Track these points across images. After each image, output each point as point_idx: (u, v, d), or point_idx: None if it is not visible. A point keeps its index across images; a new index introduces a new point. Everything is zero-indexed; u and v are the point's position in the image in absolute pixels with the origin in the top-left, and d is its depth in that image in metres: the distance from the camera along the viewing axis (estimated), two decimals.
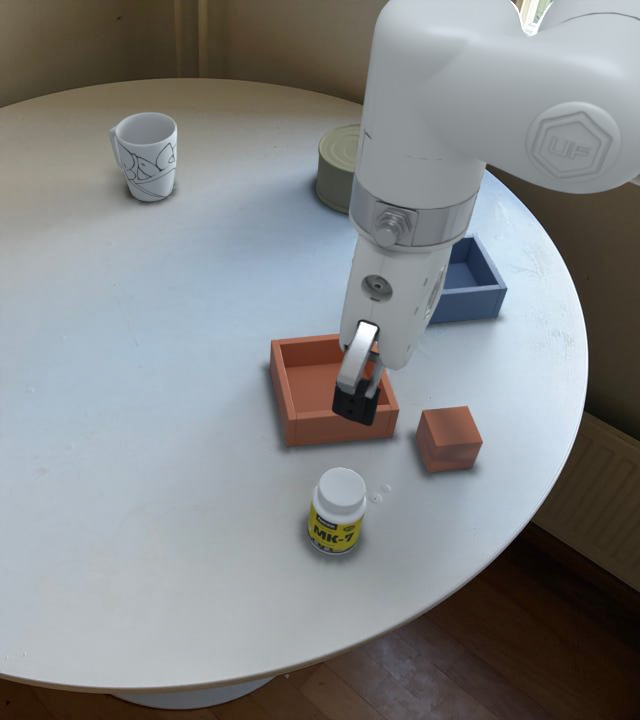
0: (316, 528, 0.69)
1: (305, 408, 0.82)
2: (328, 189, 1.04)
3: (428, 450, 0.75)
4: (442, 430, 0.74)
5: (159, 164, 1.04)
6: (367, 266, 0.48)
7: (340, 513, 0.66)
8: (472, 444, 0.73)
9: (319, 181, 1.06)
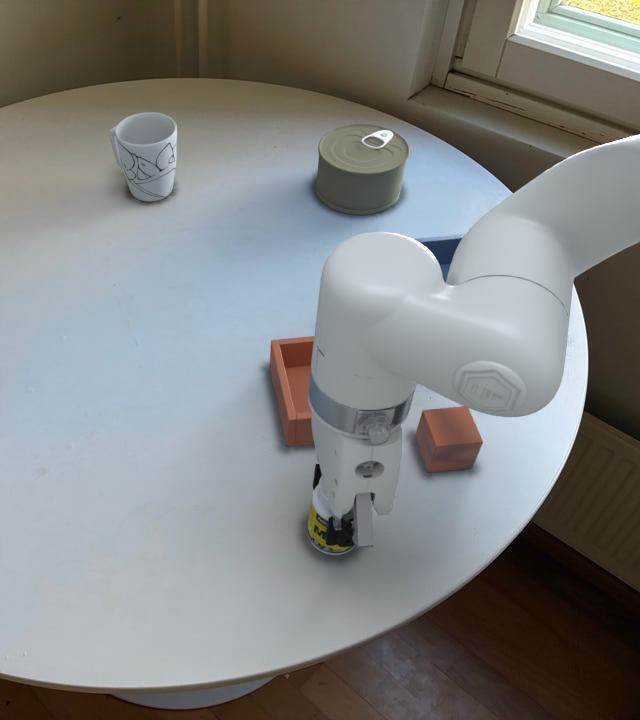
0: (316, 527, 0.69)
1: (305, 408, 0.82)
2: (328, 189, 1.04)
3: (428, 450, 0.75)
4: (442, 430, 0.74)
5: (159, 164, 1.04)
6: (358, 457, 0.55)
7: None
8: (472, 444, 0.73)
9: (319, 181, 1.06)
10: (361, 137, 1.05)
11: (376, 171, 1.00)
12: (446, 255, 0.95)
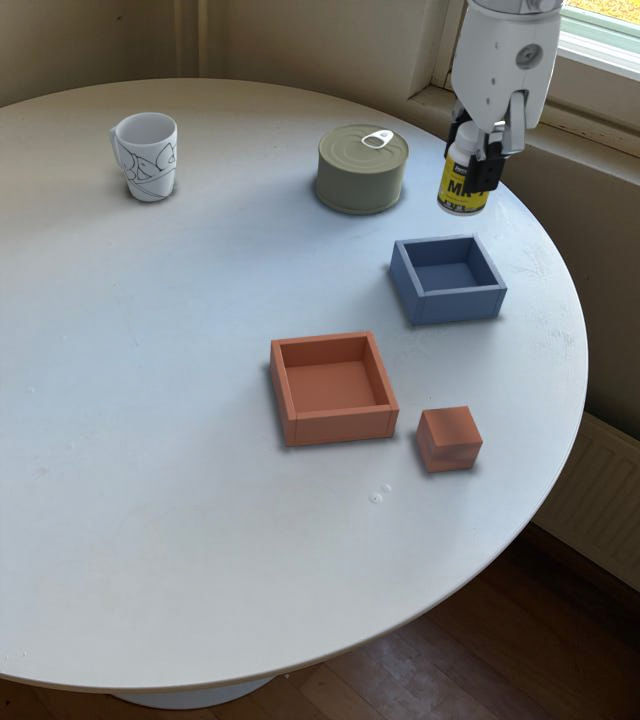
0: (451, 183, 0.75)
1: (305, 408, 0.82)
2: (328, 189, 1.04)
3: (428, 450, 0.75)
4: (442, 430, 0.74)
5: (159, 164, 1.04)
6: (521, 40, 0.61)
7: None
8: (472, 444, 0.73)
9: (319, 181, 1.06)
10: (361, 137, 1.05)
11: (376, 171, 1.00)
12: (446, 255, 0.95)
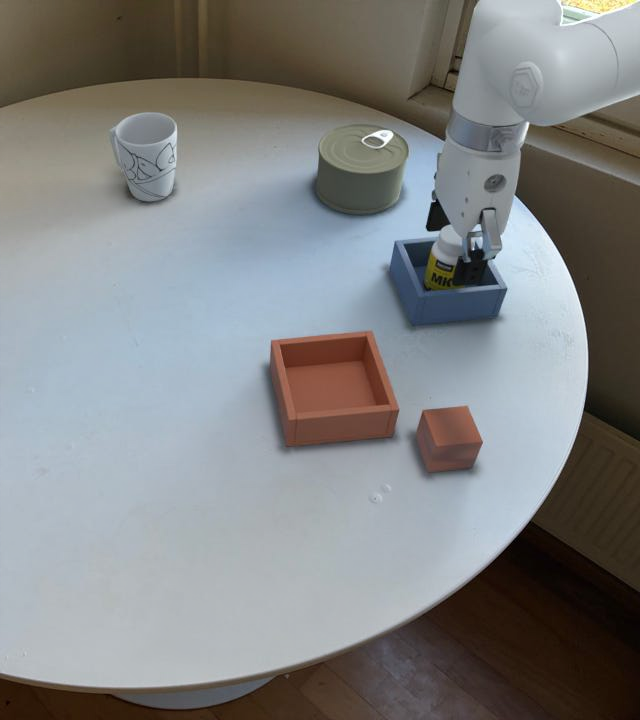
0: (434, 275, 0.89)
1: (305, 408, 0.82)
2: (328, 189, 1.04)
3: (428, 450, 0.75)
4: (442, 430, 0.74)
5: (159, 164, 1.04)
6: (488, 171, 0.75)
7: (457, 254, 0.86)
8: (472, 444, 0.73)
9: (319, 181, 1.06)
10: (361, 137, 1.05)
11: (376, 171, 1.00)
12: None
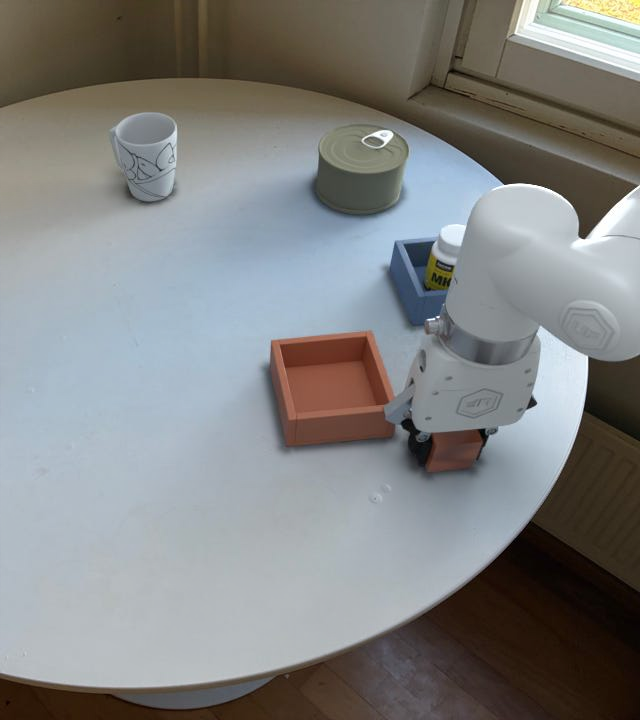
0: (434, 275, 0.89)
1: (305, 408, 0.82)
2: (328, 189, 1.04)
3: None
4: None
5: (159, 164, 1.04)
6: (425, 343, 0.67)
7: (457, 254, 0.86)
8: (472, 444, 0.73)
9: (319, 181, 1.06)
10: (361, 137, 1.05)
11: (376, 171, 1.00)
12: None
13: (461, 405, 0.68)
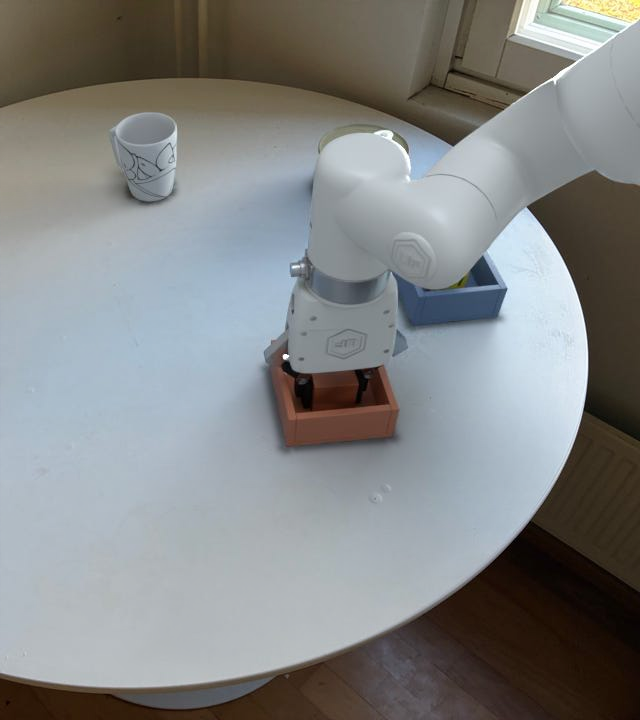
0: None
1: (305, 408, 0.82)
2: None
3: None
4: (322, 373, 0.79)
5: (159, 164, 1.04)
6: (294, 287, 0.72)
7: None
8: (349, 386, 0.78)
9: None
10: None
11: None
12: None
13: (329, 345, 0.73)
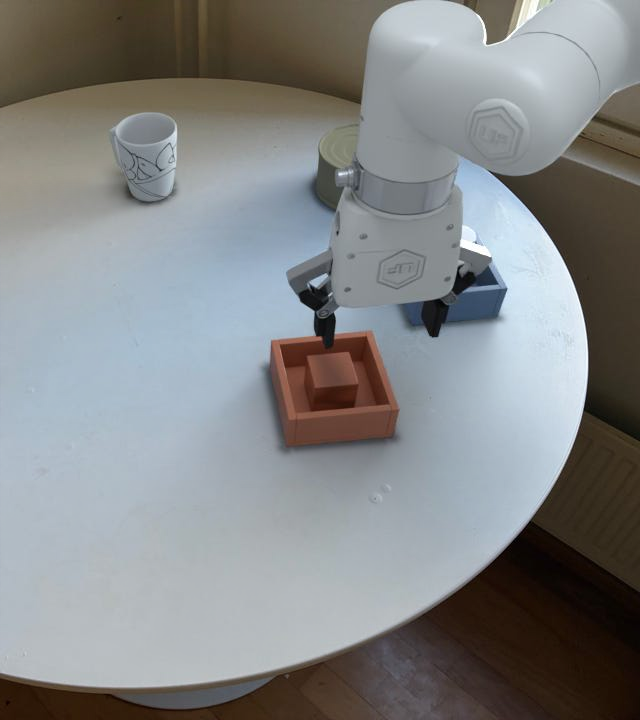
0: None
1: (305, 408, 0.82)
2: (328, 189, 1.04)
3: (311, 393, 0.81)
4: (322, 373, 0.79)
5: (159, 164, 1.04)
6: (339, 203, 0.61)
7: None
8: (349, 386, 0.78)
9: (319, 181, 1.06)
10: None
11: None
12: None
13: (381, 272, 0.62)
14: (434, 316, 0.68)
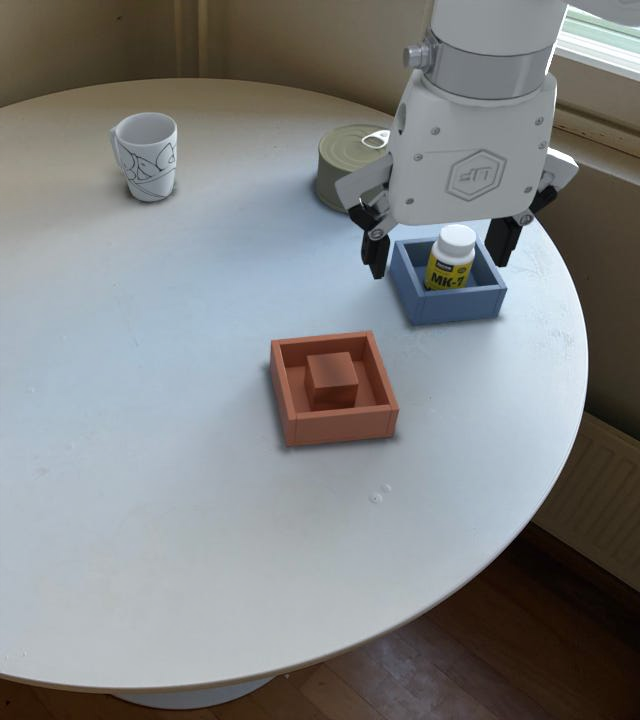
0: (434, 275, 0.89)
1: (305, 408, 0.82)
2: (328, 189, 1.04)
3: (311, 393, 0.81)
4: (322, 373, 0.79)
5: (159, 164, 1.04)
6: (404, 93, 0.51)
7: (457, 254, 0.86)
8: (349, 386, 0.78)
9: (319, 181, 1.06)
10: (361, 137, 1.05)
11: None
12: None
13: (452, 178, 0.52)
14: (504, 240, 0.58)
